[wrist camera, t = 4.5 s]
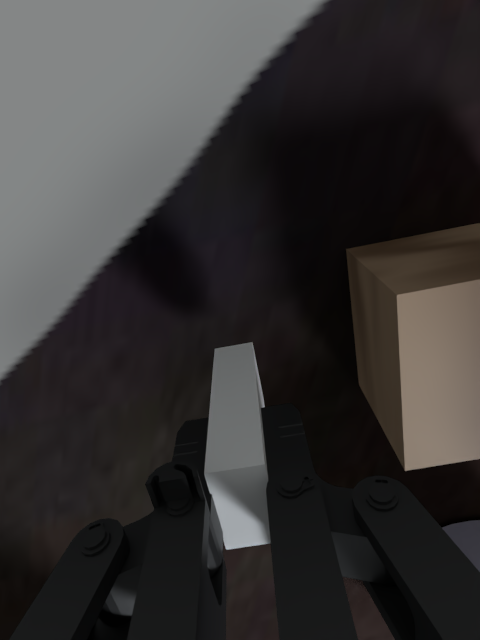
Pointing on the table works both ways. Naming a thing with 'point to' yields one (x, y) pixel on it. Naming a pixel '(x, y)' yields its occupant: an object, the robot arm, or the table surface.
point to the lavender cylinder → (466, 539)
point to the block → (421, 342)
